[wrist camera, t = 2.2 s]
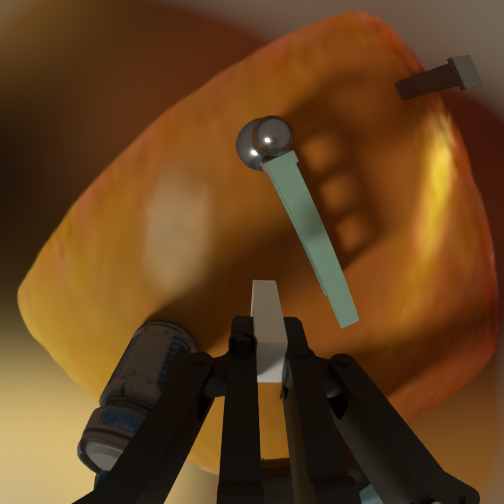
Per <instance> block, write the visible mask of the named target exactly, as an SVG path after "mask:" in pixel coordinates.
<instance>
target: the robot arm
mask: <svg viewBox="0 0 504 504" xmlns="http://www.w3.org/2000/svg"><path fill="white" fill-rule="evenodd" d="M281 379H282V380H283V384H282V389H281V394H280V399H282V397H283V405H284V414H285V422H286V431H287V439H288V448H289V458H278V459H265V460H264V458H261V453H260V430H259V406H258V382H281ZM220 396H225V402H224V415H223V429H222V443H221V457H220V473H219V484H218V490H217V504H479V502H480V496H479V493H478V491H476V490H475V489H474V488H472V487H470V486H469V485H467V484H465V483H463V482H462V481H460V480H458V479H457V478H455V477H453V476H451V475H450V474H448V473H446V472H445V471H443V469H442V468H441V467H440V465H439V464H438V463H437V461H436V460H435V459H434V458H433V456H432V455H431V454H430V453H429V451H428V450H427V449H426V448H425V446H424V445H423V444H422V442H421V441H420V440H419V439H418V437H417V436H416V435H415V434H414V433H413V431H412V430H411V429H410V427H409V426H408V425H407V424H406V422H405V421H404V420H403V419H402V417H401V416H400V415H399V414H398V412H397V411H396V410H395V409H394V407H393V406H392V405H391V404H390V402H389V401H388V400H387V399H386V397H385V396H384V395H383V394H382V393H381V391H380V390H379V389H378V388H377V386H376V385H375V384H374V383H373V381H372V380H371V379H370V378H369V376H368V375H367V374H366V373H365V372H364V370H363V369H362V368H361V367H360V365H359V364H358V363H357V362H356V361H355V359H354V358H352V357H351V356H349V355H347V354H336V355H333V356H332V357H331V359H330V360H329V359H324V358H320V357H317V356H315V354H314V352H313V351H312V350H311V349H310V348H309V347H308V343H307V340H306V336H305V333H304V329H303V326H302V322H301V321H300V320H299V319H298V318H297V317H283V315H282V310H281V305H280V300H279V295H278V290H277V285H276V281H271V280H253V288H252V304H251V317H250V316H235V318H234V319H233V320H232V326H231V336H230V338H229V351H228V352H227V353H226V354H225V355H223V356H220V357H216V358H212V357H211V356H210V355H209V354H207V353H204V352H194V353H191V354H189V355H188V356H187V357H186V358H185V360H184V361H183V363H182V364H181V366H180V367H179V369H178V370H177V372H176V373H175V375H174V376H173V378H172V379H171V381H170V382H169V384H168V385H167V387H166V388H165V390H164V391H163V393H162V394H161V396H160V397H159V399H158V400H157V402H156V403H155V405H154V406H153V408H152V409H151V411H150V412H149V414H148V415H147V417H146V418H145V420H144V421H143V423H142V424H141V426H140V427H139V429H138V430H137V432H136V433H135V435H134V436H133V438H132V439H131V440H130V442H129V443H128V445H127V446H126V448H125V449H124V451H123V452H122V454H121V455H120V457H119V458H118V460H117V461H116V463H115V464H114V466H113V467H112V469H111V470H110V472H109V473H108V475H107V476H106V478H105V479H104V481H103V482H102V484H101V485H100V487H98V488H96V489H95V490H93V491H92V492H90V493H89V494H87V495H85V496H84V497H82V498H80V499H79V500H77V501H75V502H74V503H72V504H164V502H165V500H166V498H167V496H168V494H169V492H170V490H171V488H172V486H173V484H174V482H175V480H176V478H177V476H178V474H179V472H180V470H181V468H182V466H183V464H184V462H185V460H186V458H187V456H188V454H189V452H190V450H191V448H192V446H193V444H194V442H195V439H196V437H197V435H198V433H199V431H200V429H201V427H202V425H203V423H204V421H205V418H206V416H207V414H208V412H209V410H210V408H211V406H212V404H213V401H214V399H215V397H220Z"/></svg>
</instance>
